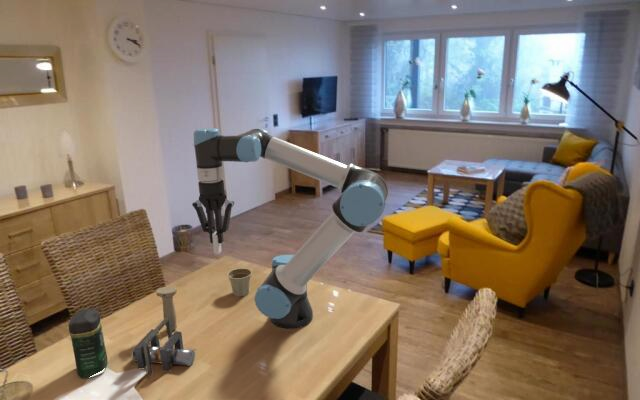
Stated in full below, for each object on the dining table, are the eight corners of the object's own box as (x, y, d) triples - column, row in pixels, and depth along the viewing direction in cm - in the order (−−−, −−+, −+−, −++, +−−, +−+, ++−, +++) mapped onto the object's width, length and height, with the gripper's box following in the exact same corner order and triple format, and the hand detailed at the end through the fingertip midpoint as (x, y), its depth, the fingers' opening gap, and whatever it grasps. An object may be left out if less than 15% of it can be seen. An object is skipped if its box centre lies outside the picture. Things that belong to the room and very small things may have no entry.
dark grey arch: (183, 351, 141) (181, 331, 138) (168, 371, 131) (165, 350, 129) (178, 351, 141) (175, 331, 139) (162, 370, 132) (159, 349, 130)
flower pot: (233, 287, 182) (231, 267, 179) (255, 288, 180) (254, 268, 178) (225, 298, 173) (223, 278, 170) (249, 299, 172) (247, 279, 169)
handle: (179, 333, 151) (173, 293, 146) (159, 333, 150) (154, 293, 146) (183, 325, 155) (178, 286, 151) (164, 325, 155) (159, 286, 151)
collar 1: (160, 349, 142) (157, 329, 140) (144, 368, 133) (140, 348, 131) (154, 349, 142) (151, 329, 140) (137, 368, 133) (134, 347, 131)
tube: (195, 357, 137) (193, 346, 135) (190, 368, 133) (187, 358, 131) (142, 352, 140) (138, 342, 138) (134, 363, 136) (130, 353, 134)
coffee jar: (105, 376, 130) (95, 320, 125) (75, 382, 128) (63, 325, 123) (110, 356, 139) (100, 303, 134) (82, 362, 137) (71, 308, 131)
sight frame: (173, 346, 143) (169, 316, 140) (150, 374, 130) (145, 342, 127) (171, 346, 144) (167, 315, 140) (147, 374, 130) (142, 341, 127)
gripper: (185, 182, 133) (193, 256, 139) (227, 183, 131) (233, 257, 137) (195, 177, 140) (203, 247, 146) (235, 177, 138) (241, 248, 144)
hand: (217, 252), depth 142 cm, fingers closed
